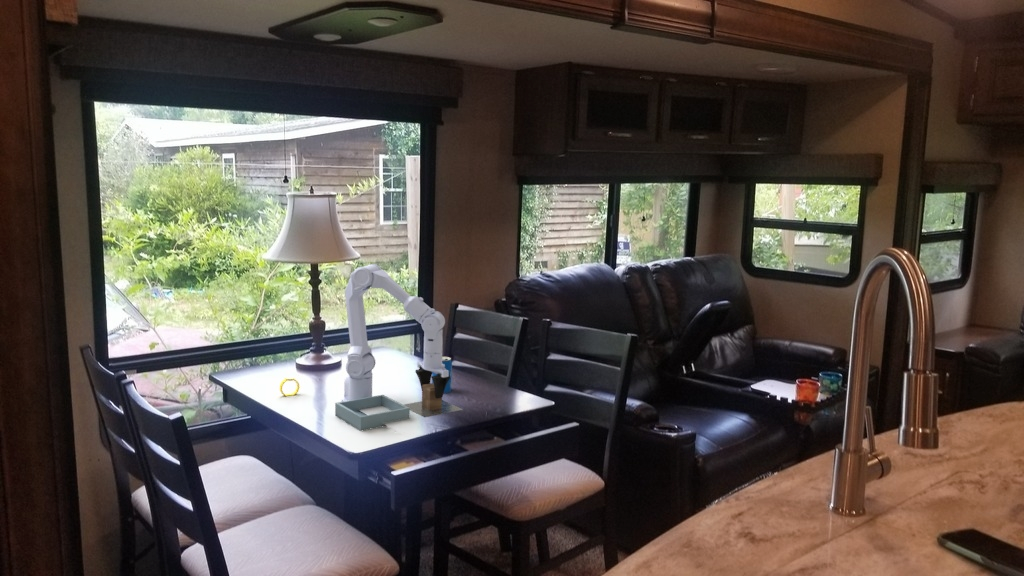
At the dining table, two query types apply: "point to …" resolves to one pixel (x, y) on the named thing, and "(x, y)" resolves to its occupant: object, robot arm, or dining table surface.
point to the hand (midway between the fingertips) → (432, 394)
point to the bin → (363, 421)
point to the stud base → (425, 412)
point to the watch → (289, 380)
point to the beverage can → (448, 366)
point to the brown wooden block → (430, 397)
